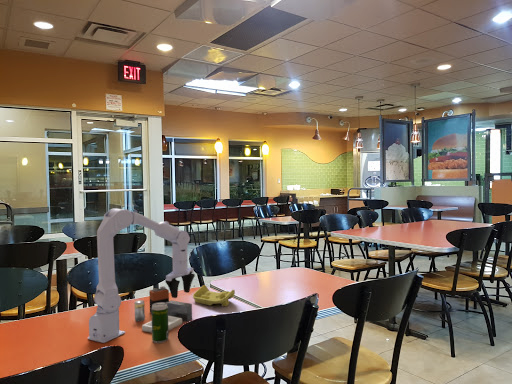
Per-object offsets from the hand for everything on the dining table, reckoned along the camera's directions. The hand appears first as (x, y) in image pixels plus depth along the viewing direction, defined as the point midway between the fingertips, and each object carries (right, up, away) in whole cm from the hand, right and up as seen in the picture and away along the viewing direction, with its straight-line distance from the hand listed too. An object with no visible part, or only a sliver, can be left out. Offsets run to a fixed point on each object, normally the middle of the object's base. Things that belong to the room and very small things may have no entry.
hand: (180, 294), depth 151 cm
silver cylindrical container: (-15, -9, -3) cm, 18 cm away
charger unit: (0, -9, -2) cm, 9 cm away
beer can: (-2, -9, -22) cm, 24 cm away
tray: (-5, -9, -11) cm, 15 cm away
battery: (-10, -9, +5) cm, 14 cm away
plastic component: (+12, -8, +16) cm, 21 cm away
